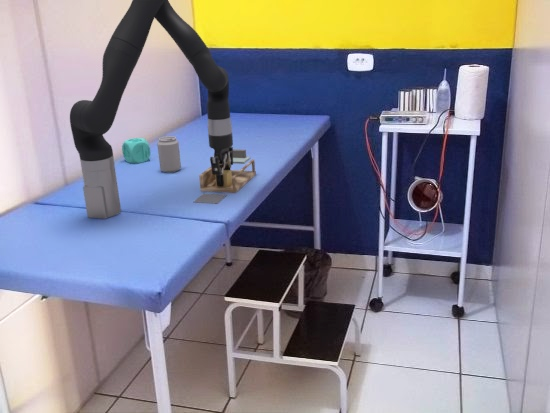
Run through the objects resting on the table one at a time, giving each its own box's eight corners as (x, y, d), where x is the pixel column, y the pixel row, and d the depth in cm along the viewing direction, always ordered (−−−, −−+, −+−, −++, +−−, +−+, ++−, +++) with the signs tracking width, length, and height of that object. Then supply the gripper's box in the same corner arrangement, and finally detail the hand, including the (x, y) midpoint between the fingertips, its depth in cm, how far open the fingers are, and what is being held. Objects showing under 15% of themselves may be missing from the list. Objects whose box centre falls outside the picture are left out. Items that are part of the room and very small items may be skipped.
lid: (244, 163, 200) (243, 154, 199) (219, 162, 202) (218, 153, 201) (250, 158, 206) (250, 149, 205) (226, 157, 208) (225, 148, 207)
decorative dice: (132, 164, 227) (130, 144, 225) (123, 160, 233) (120, 140, 230) (151, 160, 232) (149, 140, 229) (142, 156, 238) (139, 136, 235)
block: (227, 188, 194) (226, 173, 192) (216, 188, 195) (215, 173, 193) (232, 184, 197) (231, 170, 195) (220, 184, 198) (219, 169, 197)
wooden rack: (236, 194, 190) (234, 177, 188) (200, 192, 193) (199, 175, 191) (256, 175, 207) (255, 159, 205) (223, 173, 211) (222, 158, 209)
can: (177, 173, 214) (173, 140, 210) (157, 173, 215) (153, 140, 211) (184, 167, 221) (180, 135, 217) (164, 167, 222) (161, 135, 218)
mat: (217, 205, 181) (217, 203, 180) (193, 203, 183) (192, 202, 183) (227, 196, 188) (227, 194, 188) (203, 195, 190) (203, 193, 190)
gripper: (222, 137, 182) (227, 190, 188) (239, 127, 195) (242, 176, 201) (200, 137, 184) (204, 189, 190) (217, 126, 197) (221, 175, 203)
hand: (224, 182), depth 196 cm, fingers open, 6 cm apart
